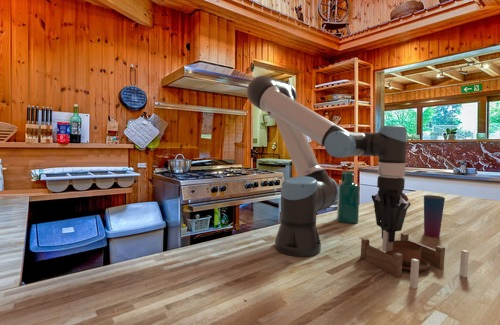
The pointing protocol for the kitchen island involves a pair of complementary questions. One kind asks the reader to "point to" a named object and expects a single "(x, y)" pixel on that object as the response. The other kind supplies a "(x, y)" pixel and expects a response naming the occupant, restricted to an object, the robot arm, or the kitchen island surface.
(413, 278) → the posts
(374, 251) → the brown wooden rail pair
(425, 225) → the cup
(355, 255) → the kitchen island surface
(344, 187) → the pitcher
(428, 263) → the cup and saucer
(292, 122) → the robot arm
